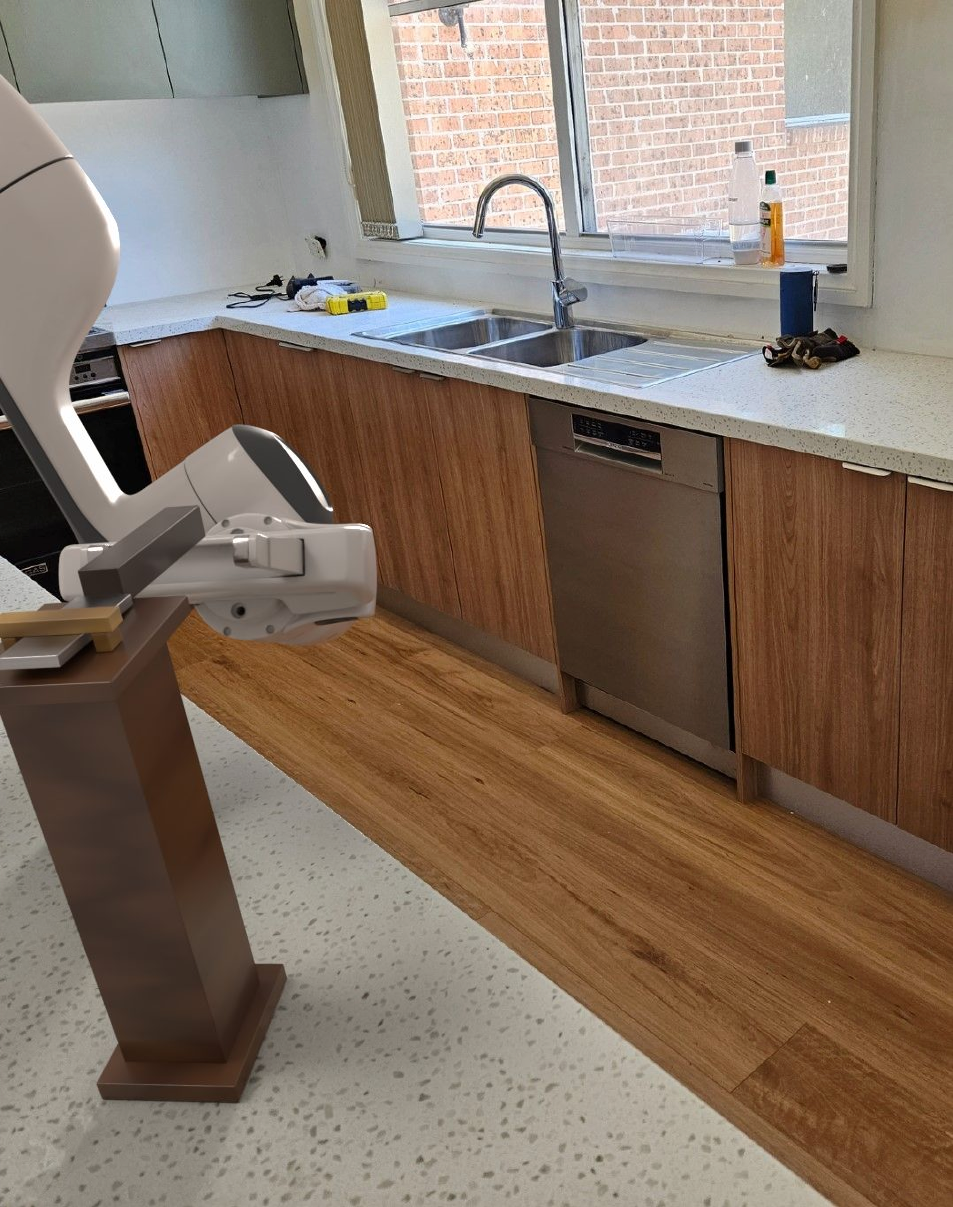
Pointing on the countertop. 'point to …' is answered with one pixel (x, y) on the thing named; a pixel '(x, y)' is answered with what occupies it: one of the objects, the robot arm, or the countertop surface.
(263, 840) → the countertop surface
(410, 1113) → the countertop surface
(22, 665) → the knife
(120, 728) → the brown wooden pedestal
